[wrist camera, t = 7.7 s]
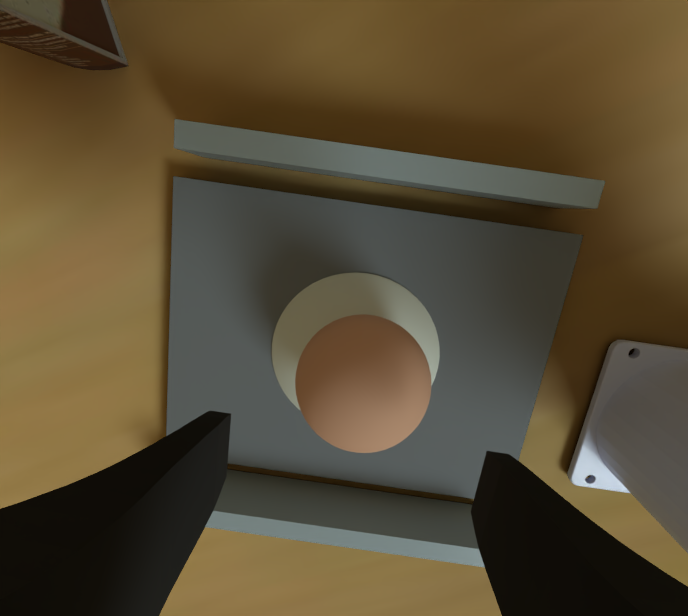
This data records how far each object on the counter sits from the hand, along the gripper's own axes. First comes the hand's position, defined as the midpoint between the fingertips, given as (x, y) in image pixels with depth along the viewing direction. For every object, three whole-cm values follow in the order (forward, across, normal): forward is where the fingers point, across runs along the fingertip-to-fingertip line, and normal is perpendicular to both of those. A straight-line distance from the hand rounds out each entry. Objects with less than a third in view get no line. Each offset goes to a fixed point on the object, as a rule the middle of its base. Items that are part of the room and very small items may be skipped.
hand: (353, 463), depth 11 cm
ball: (+5, 0, 0) cm, 5 cm away
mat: (+9, 0, 0) cm, 9 cm away
